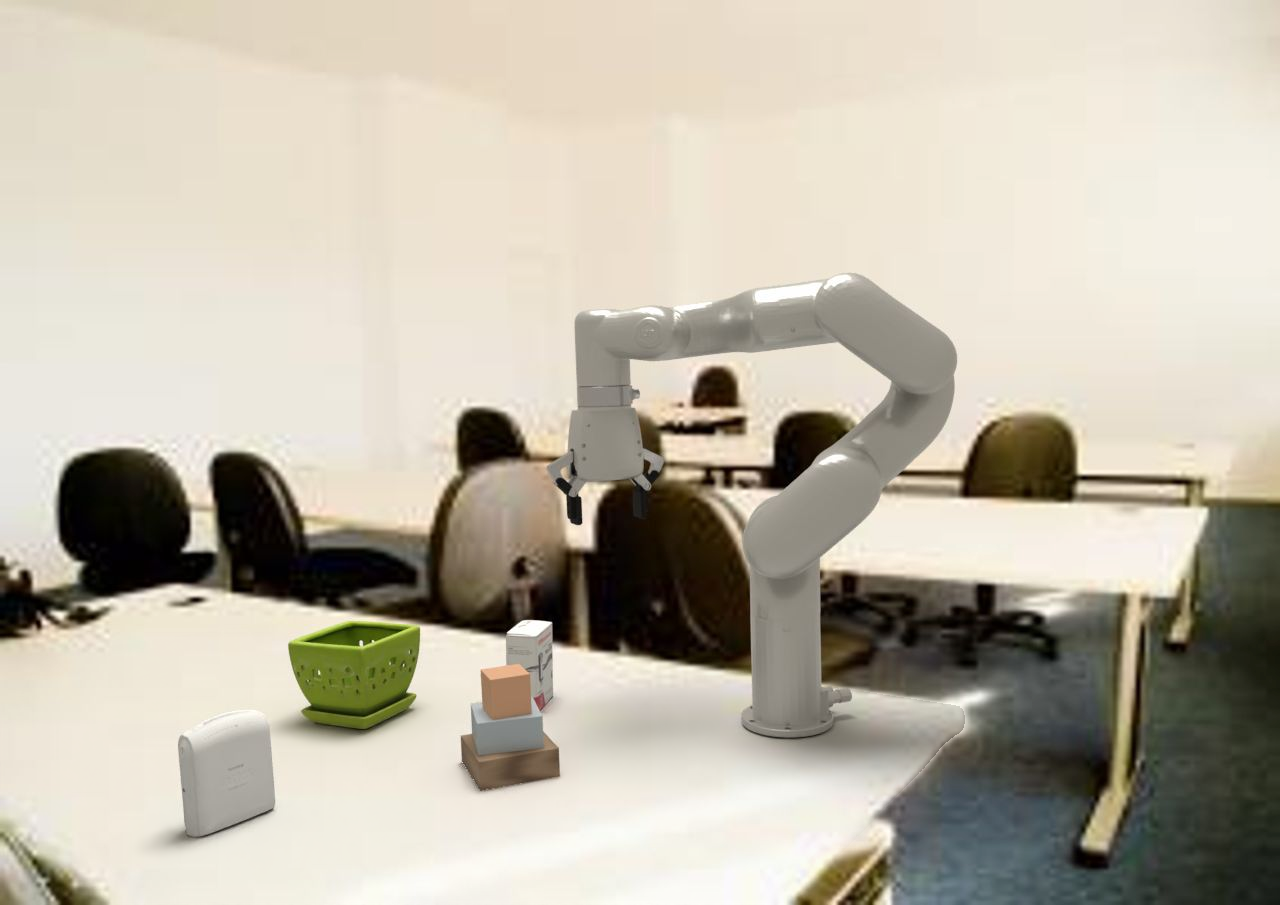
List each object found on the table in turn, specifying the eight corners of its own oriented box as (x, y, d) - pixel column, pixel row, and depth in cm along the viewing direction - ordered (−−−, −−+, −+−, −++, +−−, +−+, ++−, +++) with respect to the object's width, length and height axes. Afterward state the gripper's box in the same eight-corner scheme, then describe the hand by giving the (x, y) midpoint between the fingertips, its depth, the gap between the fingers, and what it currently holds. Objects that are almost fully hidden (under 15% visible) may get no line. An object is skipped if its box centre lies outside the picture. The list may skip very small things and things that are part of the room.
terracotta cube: (520, 701, 136) (518, 663, 136) (531, 713, 132) (529, 673, 131) (482, 708, 135) (480, 669, 134) (492, 720, 130) (490, 680, 129)
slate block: (533, 726, 139) (532, 696, 139) (543, 747, 131) (542, 716, 131) (472, 733, 137) (470, 703, 137) (478, 755, 129) (476, 723, 129)
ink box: (539, 715, 154) (536, 634, 153) (506, 713, 155) (502, 633, 154) (556, 696, 162) (552, 619, 161) (524, 694, 163) (521, 618, 162)
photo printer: (197, 841, 116) (189, 732, 115) (178, 831, 119) (170, 724, 118) (281, 809, 124) (275, 706, 123) (262, 800, 127) (255, 699, 126)
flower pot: (428, 707, 159) (423, 624, 158) (367, 739, 146) (362, 649, 145) (353, 697, 165) (348, 617, 164) (289, 727, 152) (283, 640, 151)
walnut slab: (536, 752, 140) (535, 723, 140) (560, 779, 131) (558, 748, 131) (462, 765, 137) (460, 735, 136) (480, 794, 128) (479, 762, 127)
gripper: (649, 395, 155) (653, 512, 156) (536, 401, 148) (541, 523, 150) (671, 397, 148) (675, 518, 150) (554, 402, 141) (559, 530, 143)
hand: (608, 520), depth 150 cm, fingers open, 9 cm apart
